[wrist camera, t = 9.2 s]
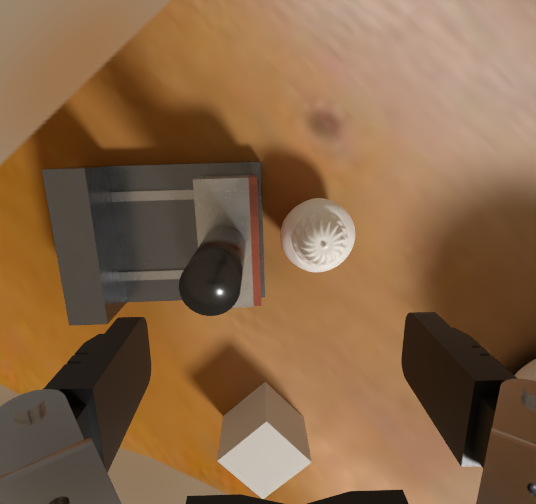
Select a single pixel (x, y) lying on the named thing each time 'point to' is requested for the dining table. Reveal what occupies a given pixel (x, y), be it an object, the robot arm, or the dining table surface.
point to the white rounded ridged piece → (317, 235)
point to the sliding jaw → (224, 246)
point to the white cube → (263, 441)
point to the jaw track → (128, 232)
